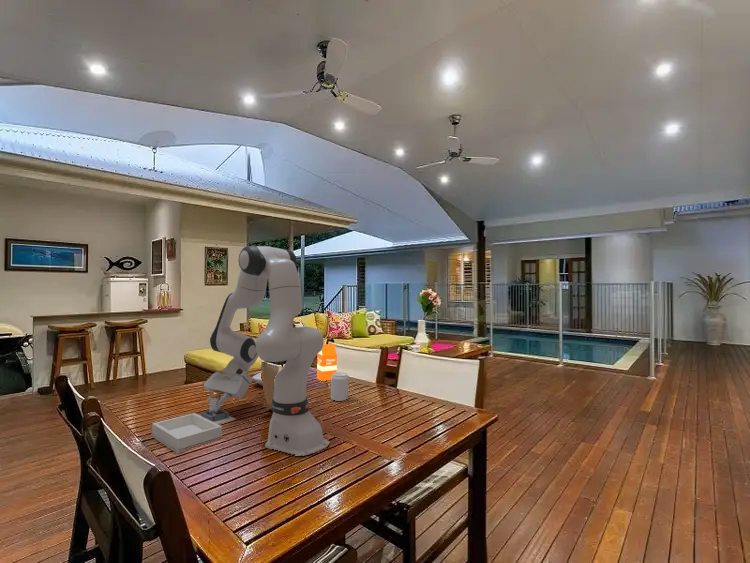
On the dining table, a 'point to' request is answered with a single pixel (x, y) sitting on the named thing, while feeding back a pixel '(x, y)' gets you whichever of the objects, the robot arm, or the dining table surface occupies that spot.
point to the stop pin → (214, 403)
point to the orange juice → (326, 362)
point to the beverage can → (339, 386)
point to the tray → (186, 432)
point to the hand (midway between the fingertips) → (213, 403)
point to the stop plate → (218, 417)
